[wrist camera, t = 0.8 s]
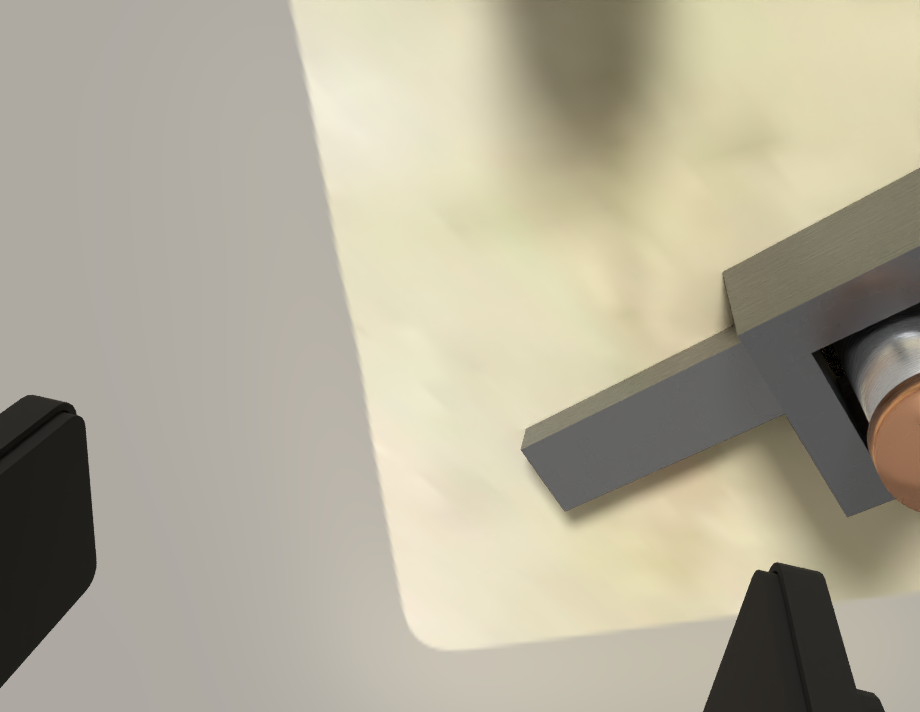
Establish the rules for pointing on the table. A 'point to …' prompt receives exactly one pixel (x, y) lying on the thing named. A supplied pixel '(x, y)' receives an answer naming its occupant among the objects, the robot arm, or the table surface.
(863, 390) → the pin
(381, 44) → the table surface
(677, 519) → the table surface
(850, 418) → the hitch block
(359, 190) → the table surface
